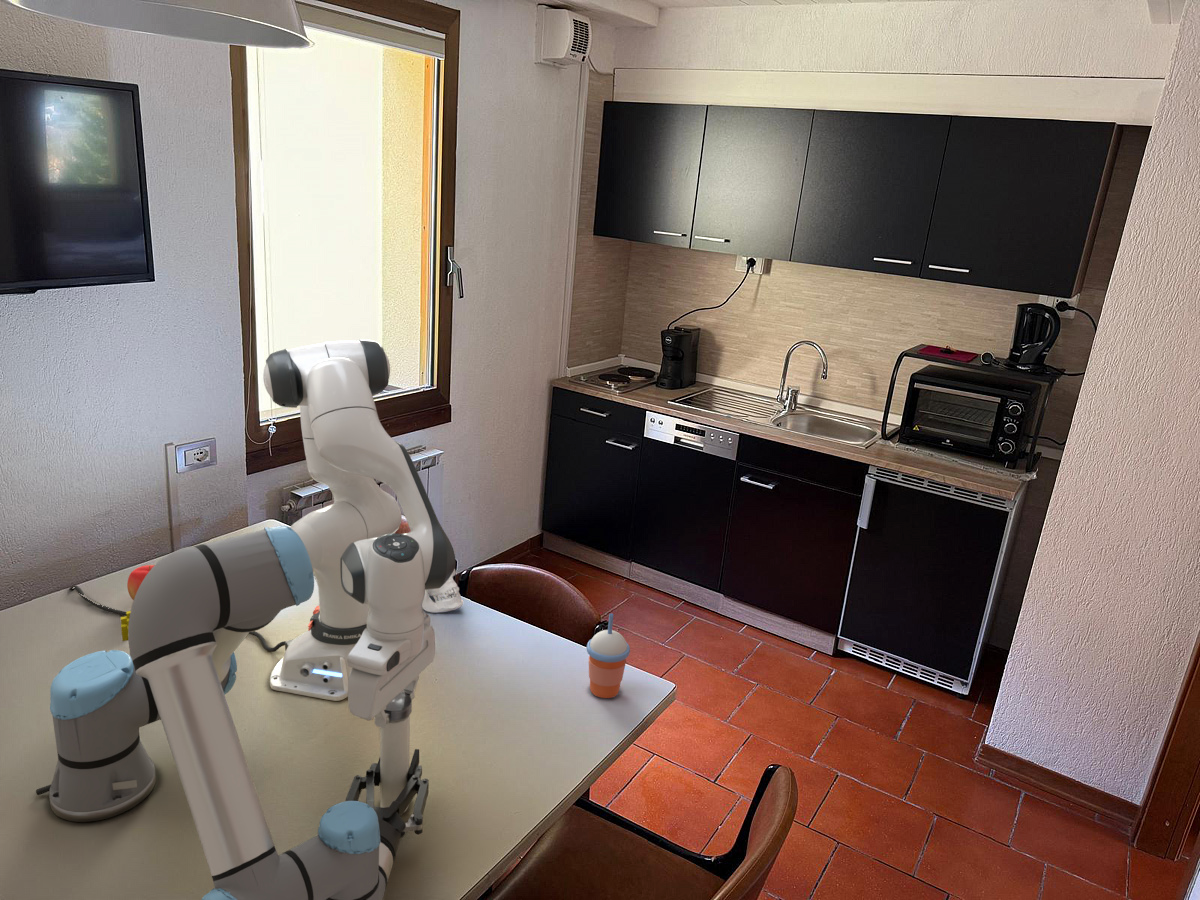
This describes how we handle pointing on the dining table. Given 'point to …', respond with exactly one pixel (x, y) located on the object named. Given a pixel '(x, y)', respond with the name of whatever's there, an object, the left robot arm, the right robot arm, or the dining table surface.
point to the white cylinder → (394, 760)
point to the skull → (443, 604)
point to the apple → (137, 579)
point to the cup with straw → (607, 661)
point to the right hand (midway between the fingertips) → (395, 712)
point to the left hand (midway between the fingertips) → (401, 755)
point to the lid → (399, 707)
